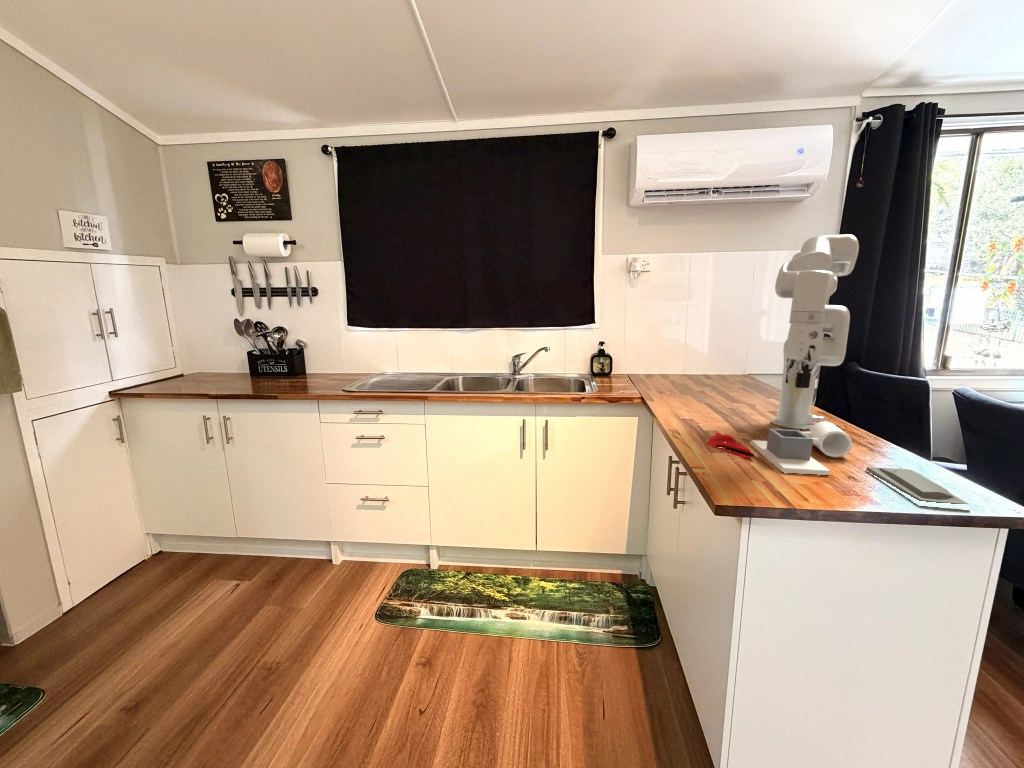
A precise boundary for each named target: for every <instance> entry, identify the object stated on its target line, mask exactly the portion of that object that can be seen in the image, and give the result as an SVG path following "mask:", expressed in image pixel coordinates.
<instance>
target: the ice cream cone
mask: <svg viewBox="0 0 1024 768" xmlns="http://www.w3.org/2000/svg"><path fill="white" fill-rule="evenodd" d="M804 366H805V364H803V367H804ZM797 373H799V361H795V362H794V365H793V367H792V368H790V369H789V370H788V373H787V379H788V385H789V391H790V397H791V403H792V407H793V408H794V407H795V405H796V403H797V401H798V399H799V397H800V395H801V393H802V391H803V389H804V388H797V387H795V384H796V377H797Z"/></svg>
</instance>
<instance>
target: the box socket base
mask: <svg viewBox="0 0 1024 768" xmlns="http://www.w3.org/2000/svg"><path fill="white" fill-rule="evenodd" d="M803 432H804V431H802V430H800V429H787V428H786V429H782V428H768V434H767V440H758V439H757V440H754V439H752V440H751V442H750V443H751V444H750V445H751V446H752V447H753V448H754V449H755V450H756V449H757V450H756V451H758V452H759V453H760V454H761V455H762V456H763V457H764V456H765V457H766V458H765V457H764V458H765V459H767V460H768V461H769V462H770V463H771V464H772V463H773V464H774V465H773V464H772V465H773V466H774V467H776V468H777V469H778V468H779V469H780V470H781V471H782V472H787V473H801V474H800V475H803V474H817V475H816V476H820V475H829V476H830V475H831V470H830V469H829V468H827V467H826V466H825V465H823V464H821V463H820V461H819V462H818V461H817V460H816V459H815V458H813V457H812V456H811V455H812V450H813V445H814V444H813V439H812V438H811V437H809V436H807V435H806V434H804V433H803ZM779 469H778V470H779ZM780 470H779V471H780ZM781 471H780V472H781ZM782 472H781V473H782ZM787 473H786V474H787Z"/></svg>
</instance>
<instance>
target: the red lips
mask: <svg viewBox="0 0 1024 768" xmlns="http://www.w3.org/2000/svg"><path fill="white" fill-rule="evenodd" d="M714 435H715V436H714ZM714 435H712V436H711V437H710V438H708V439H709V440H708V442H707V441H706V442H707V443H706V442H705V444H706V445H707V444H708V445H707V446H710V447H711V448H714V449H717V450H719V449H721V450H723V451H722V452H724V451H725V453H727V452H728V453H727V454H730V453H731V455H733V456H735V457H738V456H739V458H740V457H741V459H743V458H744V460H746V459H747V461H749V462H752V461H753V460H752V457H751V455H752V454H753V457H756V455H755V454H754V453H753V452H752V451H751V450H750V448H749V447H747V446H745V445H743V444H742V443H741V442H738V441H737V440H736V439H735V437H733V436H732V435H729V434H727V433H725V434H721V433H720V432H716V433H715V434H714ZM724 442H726V443H724ZM718 447H726V449H723V448H718ZM729 448H730V450H732V451H729V450H727V449H729ZM721 450H720V451H721ZM734 451H736V452H734ZM738 452H739V453H738ZM744 454H745V455H744ZM749 455H750V456H749Z"/></svg>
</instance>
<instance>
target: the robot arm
mask: <svg viewBox="0 0 1024 768" xmlns="http://www.w3.org/2000/svg"><path fill="white" fill-rule="evenodd" d="M859 249H860V245H859V240H858V238H857V237H856V236H855V235H853V234H848V233H847V234H827V235H825V234H824V235H817V236H812V237H810V238H808V239H807V240H806V241H804V243H802V246H801V249H800V252H797V253H796V254H794V255H793V256H792V258H791V259H790V260H787V261H786V262H785V263H783V264H782V265H781V267H780V268H779V270H778V274H777V276H776V280H775V284H774V291H775V294H776V296H777V297H778V298H781V299H792V300H791V301H792V302H791V307H790V314H789V322H788V323H789V324H790V326H789V330H788V333H787V339H786V340H785V342H784V344H783V370H782V378H781V386H780V387H781V388H780V393H779V394H780V395H779V400H778V401H779V402H778V409H777V415H776V416H775V417H773V418H771V424H773V425H776V426H778V427H782V428H786V429H790V428H791V429H790V430H800V429H802V430H803V431H804V430H806V429H807V430H810V429H811V427H812V426H813V425H814V424H813V423H814V422H817V423H819V422H825V420H826V419H825V416H819V415H818V416H817V414H812V413H811V407H812V400H813V395H814V394H813V393H814V388H815V381H816V379H815V377H816V376H815V375H814V373H813V370H814V368H815V367H816V366H824V367H825V366H826V367H837V366H840V365H841V364H843V363H844V360H845V357H846V353H847V344H848V336H849V330H850V323H851V322H850V321H851V313H850V311H849V309H848V307H846V306H844V305H837V304H827V300H828V298H829V297H831V296H833V294H834V293H835V292H836V290H837V287H838V277H844V276H848V275H850V274H852V272H853V270H854V268H855V265H856V262H857V259H858V255H859ZM824 334H826V335H829V337H828V336H824ZM795 361H799V373H797V377H796V384H795V387H797V388H804V389H803V391H802V393H801V395H800V397H799V399H798V401H797V403H796V405H795V407H794V408H793V407H792V403H791V397H790V391H789V385H788V379H787V373H788V370H789V369H790V368H792V367H793V365H794V362H795ZM803 364H805V366H804V367H803ZM802 430H801V431H802Z"/></svg>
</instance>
